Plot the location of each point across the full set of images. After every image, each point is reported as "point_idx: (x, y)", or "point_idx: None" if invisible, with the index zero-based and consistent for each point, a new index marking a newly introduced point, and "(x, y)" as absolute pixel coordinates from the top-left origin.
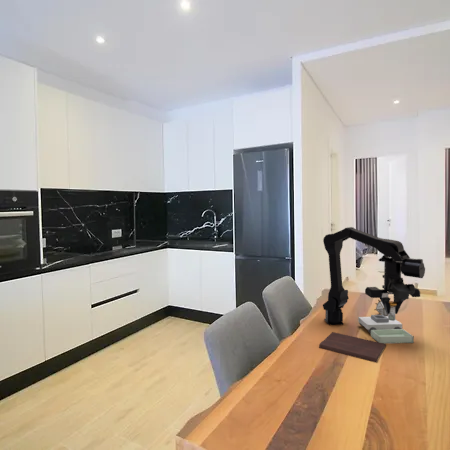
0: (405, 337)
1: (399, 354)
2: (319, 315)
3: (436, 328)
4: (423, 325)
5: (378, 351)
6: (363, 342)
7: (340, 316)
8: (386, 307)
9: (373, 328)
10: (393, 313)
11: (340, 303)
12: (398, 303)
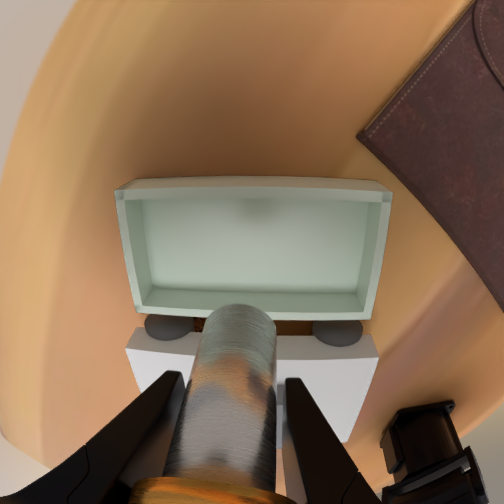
0: (176, 185)
1: (326, 14)
2: None
3: (6, 328)
4: (40, 362)
5: (459, 45)
6: (481, 180)
7: (407, 444)
8: (350, 457)
9: (338, 338)
10: (227, 369)
11: (461, 487)
12: (101, 498)
